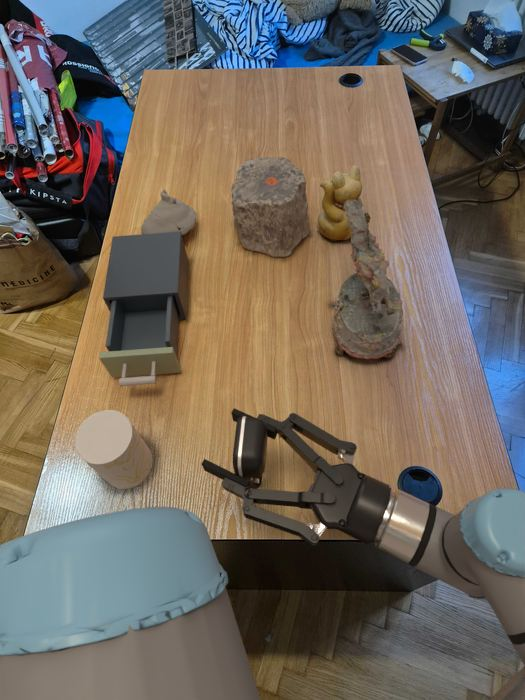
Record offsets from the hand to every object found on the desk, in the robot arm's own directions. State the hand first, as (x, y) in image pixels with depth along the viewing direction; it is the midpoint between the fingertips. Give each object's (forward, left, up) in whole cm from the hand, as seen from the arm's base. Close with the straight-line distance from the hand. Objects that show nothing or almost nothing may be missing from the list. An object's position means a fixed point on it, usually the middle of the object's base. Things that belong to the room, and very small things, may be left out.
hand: (219, 439), depth 63 cm
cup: (-17, +2, -14) cm, 22 cm away
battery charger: (+4, -2, -6) cm, 8 cm away
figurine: (+26, +27, -14) cm, 41 cm away
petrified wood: (+10, +54, -14) cm, 57 cm away
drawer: (-15, +24, -13) cm, 31 cm away
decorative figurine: (+25, +51, -14) cm, 59 cm away
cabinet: (-15, +38, -14) cm, 43 cm away
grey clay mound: (-12, +55, -14) cm, 58 cm away
